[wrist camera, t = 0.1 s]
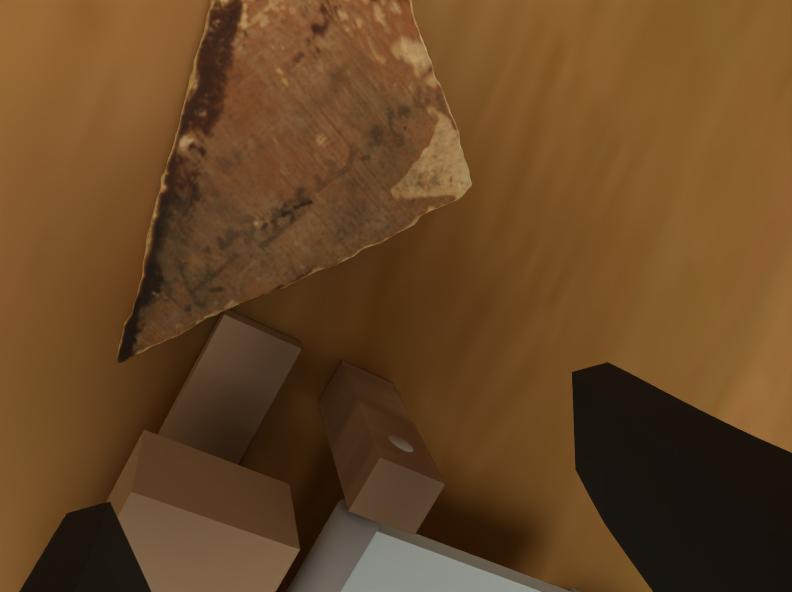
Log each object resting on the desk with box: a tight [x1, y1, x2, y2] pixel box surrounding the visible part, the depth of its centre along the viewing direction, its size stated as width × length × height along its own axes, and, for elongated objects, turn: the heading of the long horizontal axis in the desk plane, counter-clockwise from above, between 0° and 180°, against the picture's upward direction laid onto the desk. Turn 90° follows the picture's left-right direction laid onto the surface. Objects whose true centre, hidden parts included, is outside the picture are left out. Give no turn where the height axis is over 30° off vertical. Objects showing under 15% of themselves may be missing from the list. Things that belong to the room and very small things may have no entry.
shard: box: [117, 0, 472, 363], centre depth 19 cm, size 11×8×2 cm
